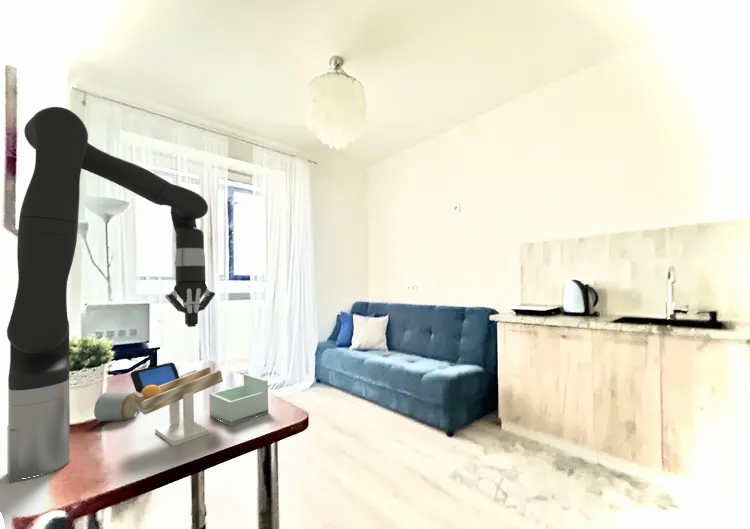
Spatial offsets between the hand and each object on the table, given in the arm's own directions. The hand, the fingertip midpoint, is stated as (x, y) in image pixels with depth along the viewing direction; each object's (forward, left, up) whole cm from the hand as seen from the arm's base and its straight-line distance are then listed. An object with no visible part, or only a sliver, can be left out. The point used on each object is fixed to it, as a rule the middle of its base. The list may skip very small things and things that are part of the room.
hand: (191, 326), depth 100 cm
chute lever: (-6, -5, -15) cm, 17 cm away
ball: (-13, -9, -14) cm, 21 cm away
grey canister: (-13, +17, -25) cm, 33 cm away
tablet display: (+2, +30, -25) cm, 39 cm away
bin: (+8, -9, -25) cm, 28 cm away
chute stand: (-7, -9, -25) cm, 27 cm away
